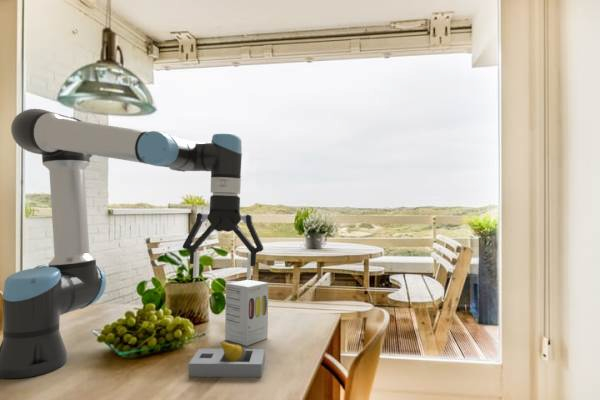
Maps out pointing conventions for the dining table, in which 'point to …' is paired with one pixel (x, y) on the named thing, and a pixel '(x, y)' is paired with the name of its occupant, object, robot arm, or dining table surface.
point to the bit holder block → (226, 364)
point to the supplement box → (246, 312)
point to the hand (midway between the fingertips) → (222, 278)
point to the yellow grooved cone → (234, 352)
